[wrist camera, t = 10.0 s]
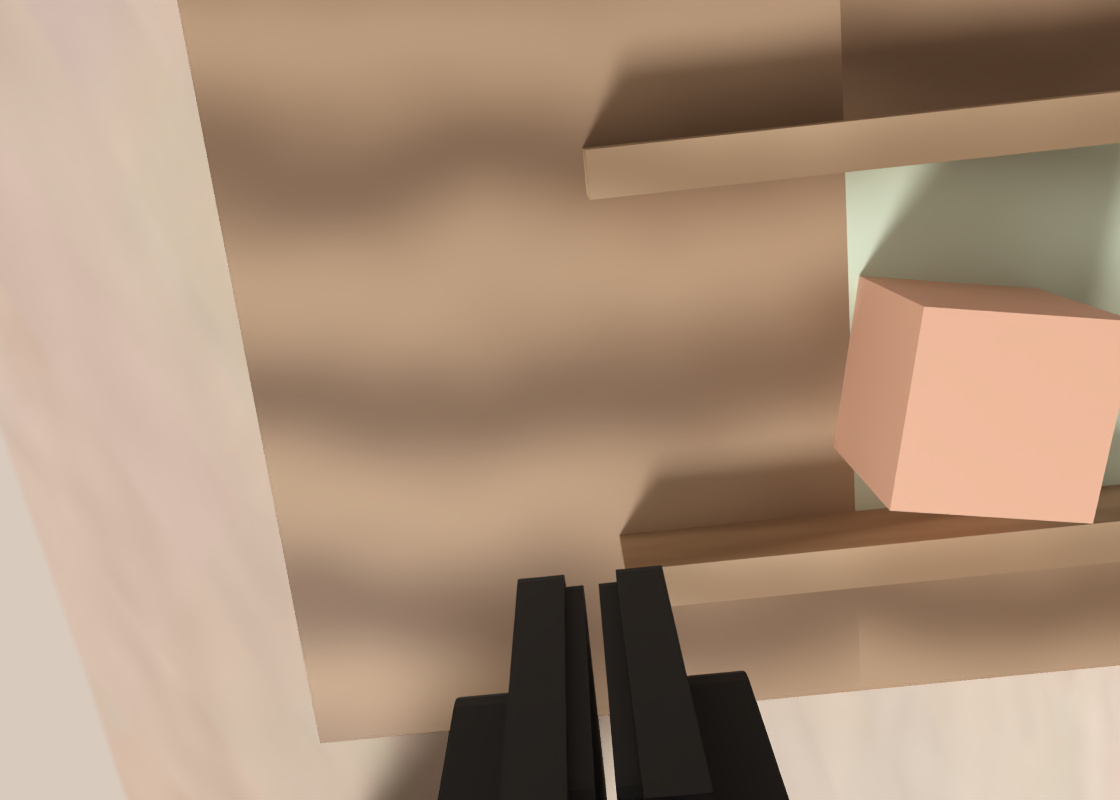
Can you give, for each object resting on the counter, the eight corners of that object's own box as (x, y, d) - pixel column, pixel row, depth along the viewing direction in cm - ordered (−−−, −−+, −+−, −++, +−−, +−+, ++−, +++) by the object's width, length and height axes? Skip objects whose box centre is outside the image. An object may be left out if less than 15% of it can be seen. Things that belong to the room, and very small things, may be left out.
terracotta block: (859, 276, 28) (924, 306, 23) (1036, 288, 28) (1138, 321, 23) (833, 447, 29) (889, 510, 24) (1002, 458, 29) (1092, 523, 24)
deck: (209, 10, 28) (138, -15, 23) (1357, -119, 27) (1529, -173, 23) (336, 699, 34) (300, 794, 29) (1289, 605, 33) (1415, 686, 28)
